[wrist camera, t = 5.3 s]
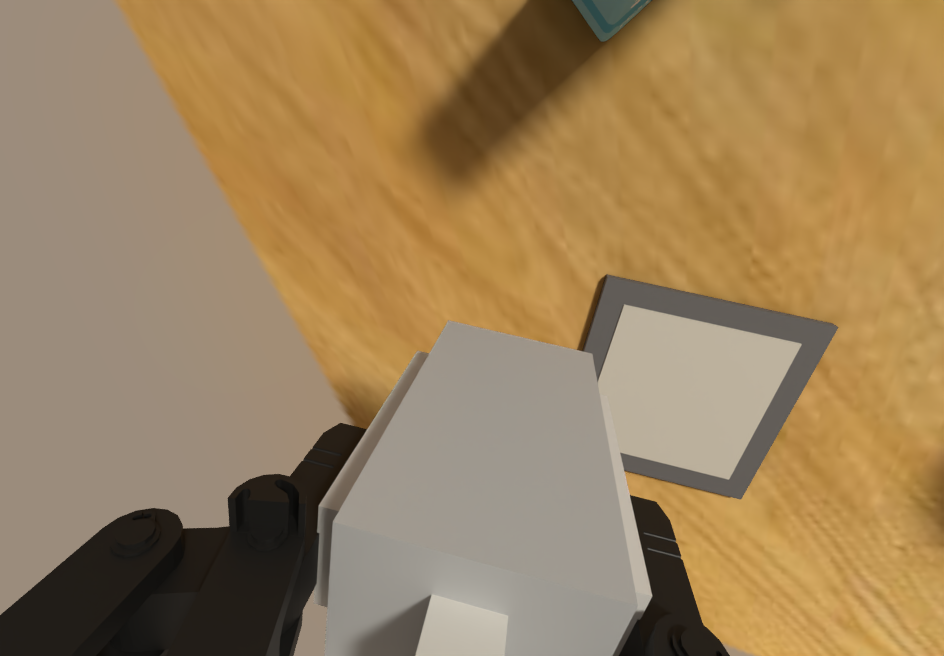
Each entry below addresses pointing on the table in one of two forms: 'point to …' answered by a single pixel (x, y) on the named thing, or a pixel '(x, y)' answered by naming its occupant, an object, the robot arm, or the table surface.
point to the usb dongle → (485, 513)
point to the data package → (608, 14)
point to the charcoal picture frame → (698, 380)
